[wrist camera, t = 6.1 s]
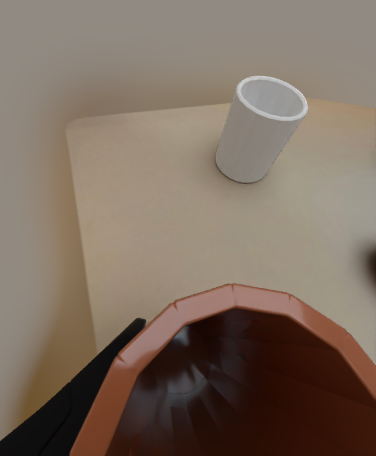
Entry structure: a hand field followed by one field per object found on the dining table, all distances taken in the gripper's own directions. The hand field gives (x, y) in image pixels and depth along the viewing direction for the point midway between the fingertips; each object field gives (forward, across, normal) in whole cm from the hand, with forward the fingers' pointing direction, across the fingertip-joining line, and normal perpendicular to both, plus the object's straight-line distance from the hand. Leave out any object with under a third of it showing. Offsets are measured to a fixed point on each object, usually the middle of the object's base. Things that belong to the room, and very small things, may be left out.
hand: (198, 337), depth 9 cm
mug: (+26, -6, -10) cm, 29 cm away
